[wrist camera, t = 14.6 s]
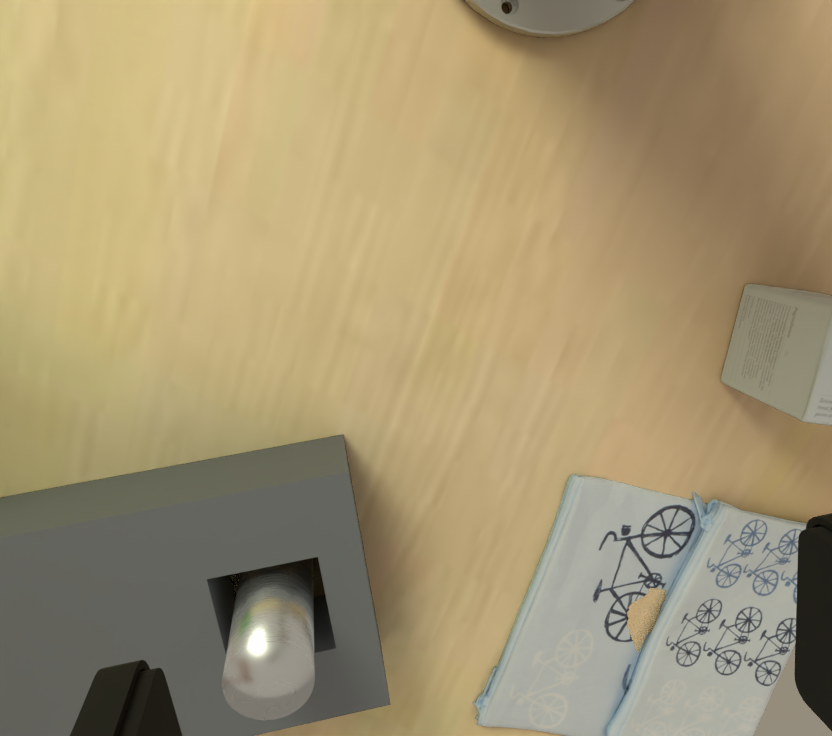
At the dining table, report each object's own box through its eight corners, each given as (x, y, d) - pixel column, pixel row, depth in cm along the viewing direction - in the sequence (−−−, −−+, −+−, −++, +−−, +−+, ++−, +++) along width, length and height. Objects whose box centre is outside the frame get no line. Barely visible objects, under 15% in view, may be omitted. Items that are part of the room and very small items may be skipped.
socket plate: (343, 434, 39) (348, 471, 34) (380, 645, 43) (390, 704, 38) (-76, 511, 36) (-133, 563, 32) (6, 726, 40) (-34, 800, 36)
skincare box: (717, 382, 41) (800, 425, 34) (743, 281, 40) (837, 304, 33) (806, 391, 43) (905, 435, 36) (835, 293, 41) (945, 319, 34)
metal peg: (306, 524, 40) (305, 634, 30) (318, 584, 41) (322, 708, 31) (235, 537, 39) (212, 654, 30) (249, 598, 41) (232, 729, 31)
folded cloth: (720, 754, 50) (738, 779, 48) (462, 710, 46) (469, 735, 44) (837, 522, 46) (862, 538, 44) (567, 448, 42) (580, 462, 40)
